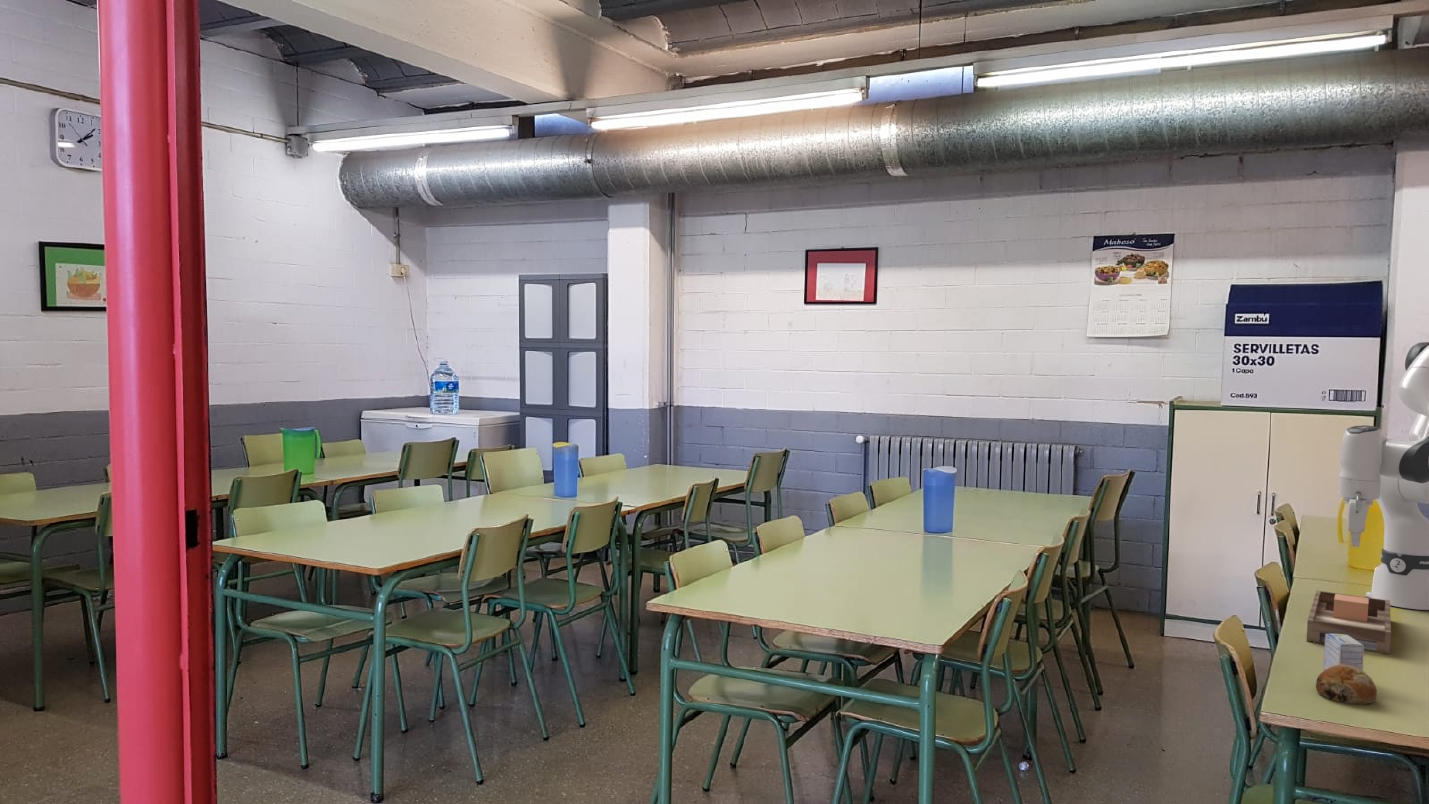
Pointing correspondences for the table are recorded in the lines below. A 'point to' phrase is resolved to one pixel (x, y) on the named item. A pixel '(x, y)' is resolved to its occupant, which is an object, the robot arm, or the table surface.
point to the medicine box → (1342, 651)
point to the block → (1350, 608)
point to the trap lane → (1351, 623)
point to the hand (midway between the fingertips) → (1355, 544)
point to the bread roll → (1346, 685)
